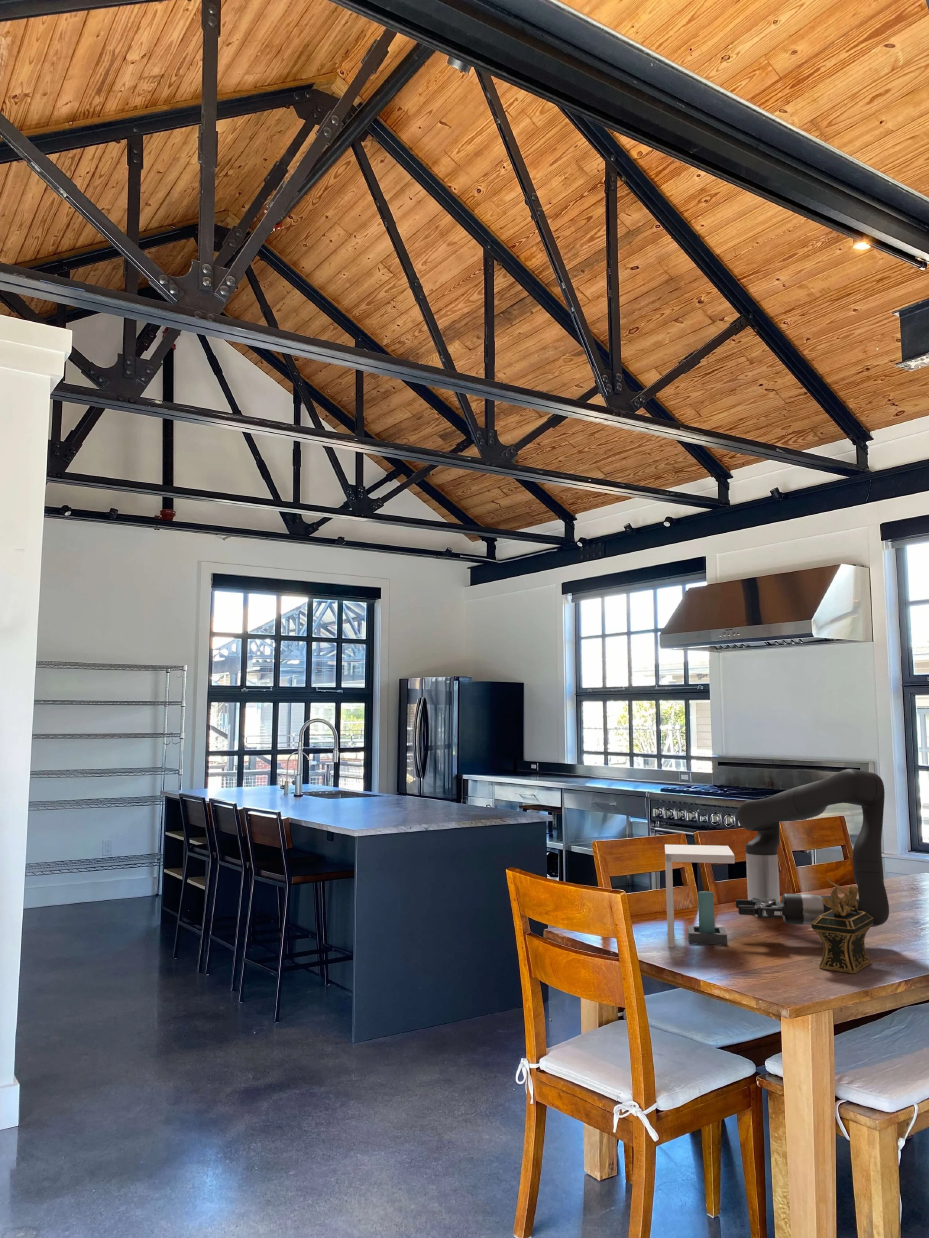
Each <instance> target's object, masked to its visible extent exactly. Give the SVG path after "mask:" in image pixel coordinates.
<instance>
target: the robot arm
mask: <svg viewBox="0 0 929 1238" xmlns="http://www.w3.org/2000/svg"><path fill="white" fill-rule="evenodd" d="M885 791H886V790H885V784H884V781H883V780H882V778H881V776H879V775H878V773H874V772H871V771H865V770H860V769H854V768H847V769H843V770H841V771H838V772H837V773H833V774H832V775H830V776H829V777H825V778H823V779H821V780H818V781H813V782H810V783H807V784H803V785H800V786H796V787H793V788H789V789H787V790H784V791H781V792H778V793H776V794H773V795H772V796H769V797H764V798H760V799H754V800H752V799H751V800H750V799H749V800H745V801H744V802H743V803H742V804H740V805H739V807H738V809H737V813H736V818H737V821H738V823H739V825H740V826H741V827H742V828H743V829H745V830H747V831H751V832H756V836H755V837H754V838H753V839H751V840H750V841H748V842H747V843H746V844H745V862H746V864H745V865H746V879H747V880H746V883H747V884H746V886H747V889H746V890H747V899H735V907H736V909H737V911H738V914H739V915H740V916H754V917H757V918H759V919H778V920H779V919H780V920H781V919H783V922H784V923H785V924H786V925H801V926H802V925H803V926H804V925H805V926H811V924H812V922H813V921H815V920H816V919H817V918H818V917H819V916H820V915H822V914H824V913H826V912H829V911H831V910H832V909H831V908H830V907H828V906H826V905H825V904H824V903H823V902H822V898H826V897H828V898H829V899H831V895H818V894H817V895H816V894H812V893H811V894H810V893H809V894H807V893H787V892H786V893H783V894H782V896H781V895H780V879H779V878H780V877H779V876H780V875H779V859H778V857H779V856H778V848H779V846H780V845H779V844H780V823H781V822H782V823H784V822H785V823H786V822H788V823H789V822H799V821H803V820H809V819H812V818H816V817H818V816H820V815H822V814H823V813H824V812H825V811H826V809H827V807H828V806H833V805H837V804H849V805H854V806H855V805H856V806H861V810H862V824H861V829H860V831H859V833H858V835H857V838H856V839H855V842H854V845H853V849H852V867H853V868H852V869H853V879H854V883H855V884H856V885H857V886H856V887H857V889H858V894H857V896H858V898H856V902H857V908H858V911H863V912H865V913H867V914H868V915H870V916H871V917H872V918H874V923H873V924H872V926H871V927H870V928H876V927H878V926H881V925H884V924H885V923H886V922H887V921H888V919H889V916H890V904H889V899H888V893H887V890H886V886H885V882H884V879H885V877H884V866H883V855H882V836H883V823H884V810H885V809H884V808H885ZM780 897H781V898H780ZM839 905H840V904H839ZM850 908H854V905H853V906H852V907H850Z"/></svg>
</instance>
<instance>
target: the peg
mask: <svg viewBox="0 0 929 1238" xmlns="http://www.w3.org/2000/svg"><path fill="white" fill-rule="evenodd" d="M714 897H715V895H714V892H712V891H707V890H706V891H705V890H704V891H700V890H699V891H697V906H698V909H697V910H698V926H699V932H701V933H715V927H716V925H715V924H716V922H715V902H714V901H715V898H714Z"/></svg>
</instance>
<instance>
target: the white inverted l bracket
mask: <svg viewBox="0 0 929 1238" xmlns="http://www.w3.org/2000/svg"><path fill="white" fill-rule="evenodd" d="M735 859H736V856H735V854H734V852H733V850H732V849H731V848H730V847H729V845H709V844H708V845H707V844H705V845H704V844H703V845H702V844H668V843H667V844H664V864H665V865H664V867H665V869H664V870H665V890H666V891H665V895H666V896H665V897H666V922H667V923H666V924H667V945H668V948H675V947H676V944H675V943H676V941H675V940H676V939H675V938H676V937H675V936H676V935H675V913H674V912H675V910H674V907H675V905H674V886H673V885H674V881H673V880H674V879H673V863H704V864H705V863H707V864H709V863H710V864H735V862H736V860H735Z"/></svg>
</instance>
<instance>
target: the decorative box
mask: <svg viewBox="0 0 929 1238" xmlns="http://www.w3.org/2000/svg"><path fill="white" fill-rule="evenodd" d="M826 877H827V878H826V879H827V882H828V883H829V884H830V885H832V886H833V887H834V888H833V889H832V891H831V893H830V896H831V899H829V898H828V897H826V898H822V902H823V903H824V904H825V905H826V906H828V907H830V908H831V909H832V910H831V911H829V912H826V913H824V914H822V915H820V916H819V917H818V918H817V919H816V920H815V921H813V922H812V924H811V925H810V926H811V929H812V930H813V931H814V932H815V933H816V935H818V936H819V938H820V940H821V941H822V944H823V955H822V957H821V959H820V963H819V965H818V968H820V969H822V970H825V969H826V971H831V970H832V971H831V972H837V971H838V972H837V973H844V974H849V975H850V974H852V975H853V974H857V973H858V972H860V971H861V970H863V969H864V968H867V966H869V965H870V964H872V960H871V959H870V956H869V955H868V953H867V951H866V946H865V940H866V939H865V938H866V936H867V933H868V931H869V930H870V928H872V927H871V926H872V924H873V923H874V918H872V917H871V916H870V915H868V914H867V913H865V912H863V911H858V908H857V902H856V899H857V896H858V886H855V885H849V887H848V890H847V891H846V890H845V889H843V887H841V886H840V885H839V884H836V883H834V882H832V881H831V879H830V877H829V876H828V875H827V876H826ZM838 890H839V891H840V892H841V893H842V894H843V895H844V896H840V895H838ZM839 904H840V905H839ZM853 905H854V908H850V907H852V906H853Z"/></svg>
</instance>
